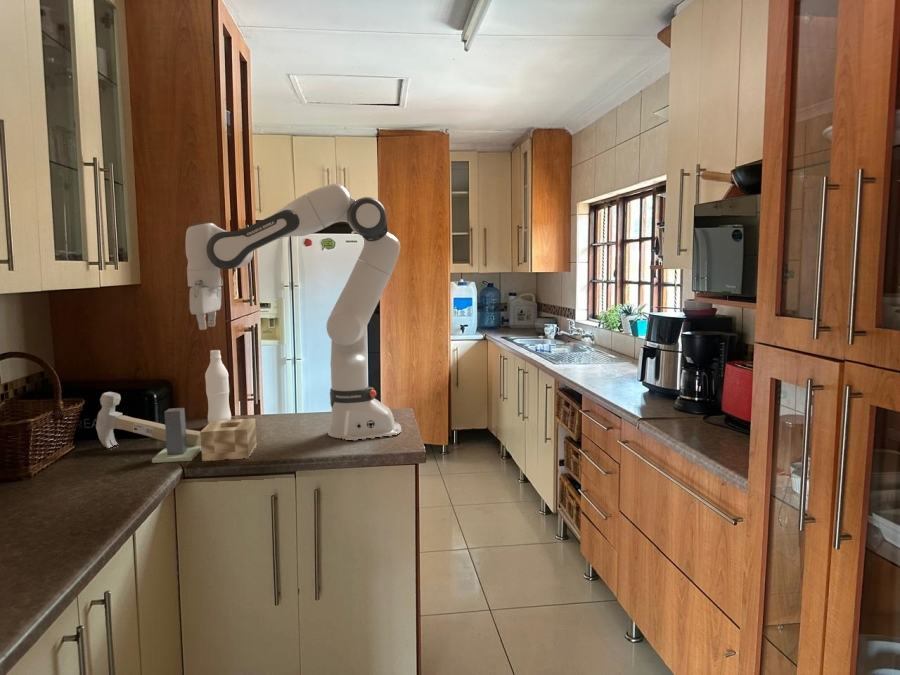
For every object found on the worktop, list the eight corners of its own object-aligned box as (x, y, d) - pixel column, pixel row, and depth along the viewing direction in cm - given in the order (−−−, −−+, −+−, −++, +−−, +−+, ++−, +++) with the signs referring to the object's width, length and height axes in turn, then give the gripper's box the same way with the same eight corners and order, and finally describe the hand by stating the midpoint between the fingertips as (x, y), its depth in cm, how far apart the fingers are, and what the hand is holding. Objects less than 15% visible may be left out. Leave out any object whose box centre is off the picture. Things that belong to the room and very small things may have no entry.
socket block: (256, 445, 172) (255, 418, 171) (248, 458, 160) (246, 429, 160) (213, 447, 171) (211, 420, 170) (202, 461, 159) (200, 431, 158)
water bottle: (203, 426, 194) (198, 351, 191) (223, 422, 200) (219, 348, 197) (216, 430, 190) (211, 352, 187) (236, 425, 195) (231, 350, 192)
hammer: (207, 413, 172) (109, 390, 173) (200, 417, 167) (98, 393, 169) (199, 464, 174) (101, 441, 175) (191, 469, 169) (91, 446, 171)
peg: (187, 449, 166) (184, 407, 164) (183, 454, 162) (179, 411, 160) (172, 450, 165) (169, 408, 164) (167, 455, 161) (164, 411, 160)
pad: (201, 449, 169) (201, 446, 169) (191, 460, 159) (191, 456, 159) (164, 451, 168) (164, 448, 168) (152, 462, 158) (151, 459, 158)
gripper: (206, 280, 161) (209, 331, 163) (224, 279, 181) (226, 324, 183) (181, 281, 160) (185, 332, 162) (202, 279, 180) (205, 325, 182)
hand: (207, 328), depth 172 cm, fingers open, 8 cm apart
